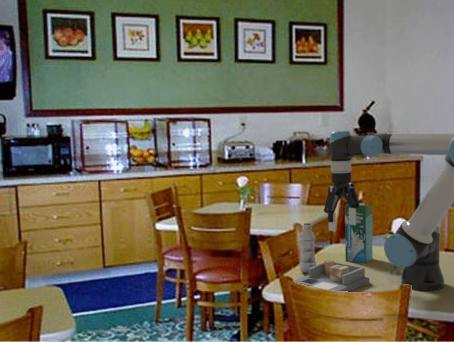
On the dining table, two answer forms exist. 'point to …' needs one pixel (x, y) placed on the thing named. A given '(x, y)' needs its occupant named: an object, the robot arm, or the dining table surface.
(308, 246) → the plastic bottle
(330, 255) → the dining table surface
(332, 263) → the tan block
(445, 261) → the dining table surface
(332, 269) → the maple cube
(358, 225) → the milk carton
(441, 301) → the dining table surface
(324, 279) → the cubby deck
